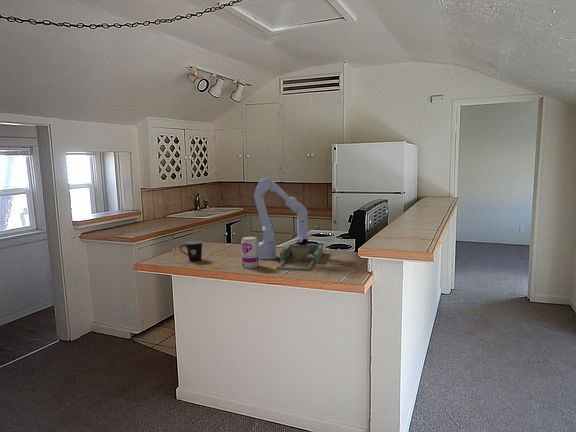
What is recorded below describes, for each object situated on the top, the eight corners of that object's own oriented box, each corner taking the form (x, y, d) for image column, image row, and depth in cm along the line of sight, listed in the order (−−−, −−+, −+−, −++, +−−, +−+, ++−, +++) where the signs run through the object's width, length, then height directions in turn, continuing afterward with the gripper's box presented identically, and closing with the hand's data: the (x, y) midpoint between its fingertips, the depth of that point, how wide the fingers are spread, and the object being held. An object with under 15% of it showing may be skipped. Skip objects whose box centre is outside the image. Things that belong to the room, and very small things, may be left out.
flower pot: (308, 262, 224) (308, 249, 223) (289, 261, 226) (289, 248, 225) (311, 257, 234) (311, 244, 233) (293, 257, 236) (293, 244, 235)
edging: (276, 269, 212) (276, 267, 212) (283, 262, 226) (282, 260, 225) (309, 270, 209) (309, 268, 209) (313, 263, 222) (313, 261, 222)
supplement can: (252, 269, 214) (251, 240, 211) (239, 267, 218) (238, 238, 216) (261, 265, 220) (260, 237, 218) (248, 263, 225) (247, 235, 222)
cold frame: (280, 262, 226) (279, 252, 226) (289, 252, 248) (288, 243, 247) (317, 263, 222) (316, 253, 221) (323, 253, 244) (322, 244, 243)
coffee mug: (206, 259, 237) (205, 241, 236) (196, 262, 229) (195, 244, 228) (189, 257, 242) (188, 240, 240) (179, 261, 234) (178, 243, 233)
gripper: (307, 230, 227) (307, 255, 229) (311, 226, 241) (312, 249, 243) (294, 230, 228) (294, 255, 230) (299, 225, 242) (299, 249, 244)
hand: (302, 252), depth 236 cm, fingers closed
